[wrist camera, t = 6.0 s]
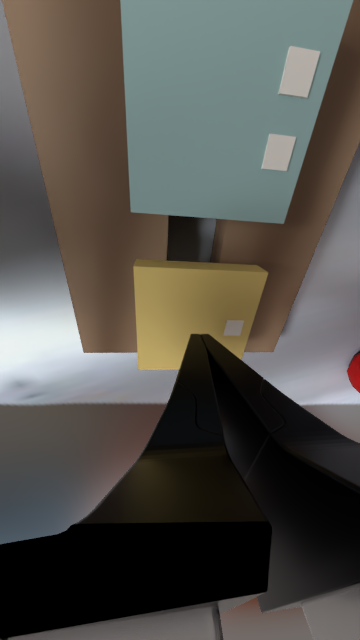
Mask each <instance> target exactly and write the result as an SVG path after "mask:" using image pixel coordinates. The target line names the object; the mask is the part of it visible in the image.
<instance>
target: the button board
mask: <svg viewBox="0 0 360 640" xmlns="http://www.w3.org/2000/svg"><path fill="white" fill-rule="evenodd" d="M2 2H3V7H4V11H5V15H6V20H7V24H8V28H9V33H10V37H11V41H12V45H13V50H14V54H15V58H16V63H17V67H18V71H19V76H20V80H21V84H22V89H23V93H24V97H25V102H26V106H27V110H28V114H29V119H30V123H31V127H32V132H33V136H34V140H35V145H36V149H37V153H38V158H39V162H40V166H41V170H42V175H43V179H44V183H45V188H46V192H47V196H48V201H49V205H50V209H51V214H52V218H53V222H54V227H55V231H56V235H57V239H58V244H59V248H60V252H61V257H62V261H63V265H64V270H65V274H66V278H67V283H68V287H69V291H70V295H71V300H72V304H73V308H74V313H75V317H76V321H77V326H78V330H79V334H80V339H81V343H82V347H83V352H84V353H127V352H138V351H137V330H136V310H135V289H134V269H133V266H134V264H135V261H136V259H146V260H166V261H167V242H168V216H169V215H161V214H148V213H135V212H131V207H130V187H129V166H128V146H127V126H126V105H125V85H124V64H123V44H122V23H121V3H120V0H2ZM359 142H360V0H353V3H352V6H351V9H350V13H349V16H348V19H347V22H346V25H345V29H344V32H343V35H342V38H341V41H340V45H339V48H338V51H337V54H336V58H335V61H334V64H333V67H332V70H331V74H330V77H329V80H328V83H327V86H326V90H325V93H324V96H323V99H322V102H321V106H320V109H319V112H318V115H317V119H316V122H315V125H314V128H313V131H312V135H311V138H310V141H309V144H308V147H307V151H306V154H305V157H304V160H303V163H302V167H301V170H300V173H299V176H298V180H297V183H296V186H295V189H294V192H293V196H292V199H291V202H290V205H289V208H288V212H287V215H286V218H285V221H284V224H278V223H265V222H252V221H239V220H226V219H217V222H216V228H215V235H214V242H213V248H212V255H211V261H210V263H225V264H245V265H258V266H259V267H261V268H262V269H264V270H265V271H267V272H268V276H267V279H266V282H265V285H264V289H263V292H262V295H261V298H260V302H259V305H258V308H257V311H256V314H255V318H254V321H253V324H252V327H251V330H250V334H249V337H248V340H247V343H246V346H245V350H244V352H273V351H274V349H275V347H276V344H277V342H278V339H279V337H280V334H281V332H282V330H283V327H284V325H285V322H286V320H287V317H288V315H289V313H290V310H291V308H292V305H293V303H294V300H295V298H296V295H297V293H298V291H299V288H300V286H301V283H302V281H303V278H304V276H305V274H306V271H307V269H308V266H309V264H310V261H311V259H312V257H313V254H314V252H315V249H316V247H317V244H318V242H319V240H320V237H321V235H322V232H323V230H324V227H325V225H326V223H327V220H328V218H329V215H330V213H331V210H332V208H333V206H334V203H335V201H336V198H337V196H338V193H339V191H340V189H341V186H342V184H343V181H344V179H345V176H346V174H347V172H348V169H349V167H350V164H351V162H352V159H353V157H354V155H355V152H356V150H357V147H358V145H359Z"/></svg>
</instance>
